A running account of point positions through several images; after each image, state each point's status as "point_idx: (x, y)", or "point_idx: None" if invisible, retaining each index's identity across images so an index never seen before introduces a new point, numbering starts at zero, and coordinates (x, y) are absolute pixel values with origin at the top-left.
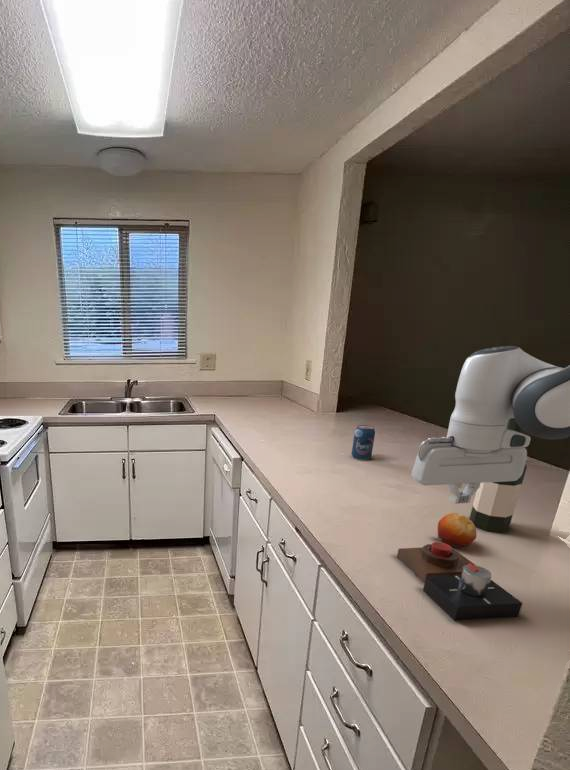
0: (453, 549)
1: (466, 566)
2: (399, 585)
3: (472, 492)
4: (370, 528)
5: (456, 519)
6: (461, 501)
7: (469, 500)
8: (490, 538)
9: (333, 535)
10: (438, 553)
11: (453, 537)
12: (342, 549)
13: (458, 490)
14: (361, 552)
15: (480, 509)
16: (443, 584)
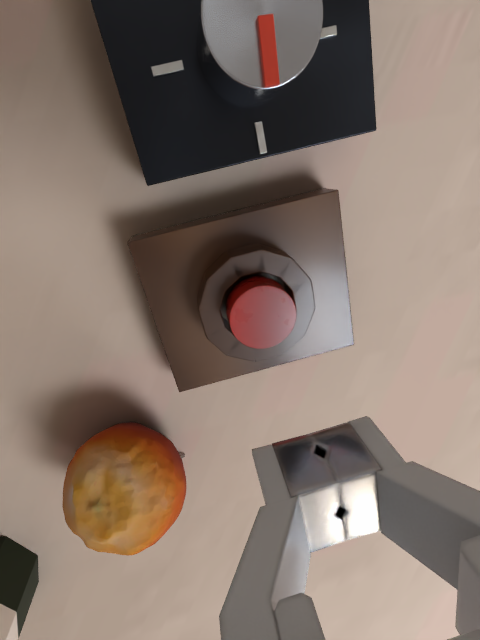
0: (176, 372)
1: (293, 63)
2: (408, 159)
3: (275, 532)
4: None
5: (139, 510)
6: (328, 438)
7: (262, 461)
8: (6, 497)
9: (460, 416)
10: (279, 285)
11: (155, 436)
12: (473, 346)
13: (460, 510)
14: (429, 339)
15: (3, 618)
16: (337, 81)
